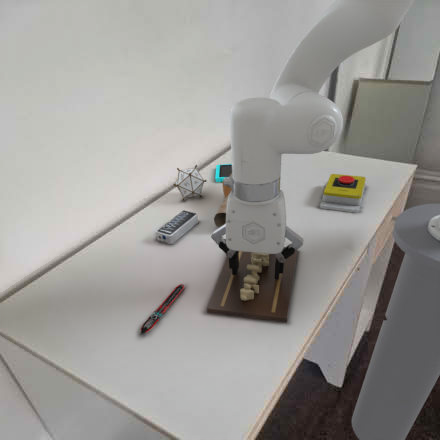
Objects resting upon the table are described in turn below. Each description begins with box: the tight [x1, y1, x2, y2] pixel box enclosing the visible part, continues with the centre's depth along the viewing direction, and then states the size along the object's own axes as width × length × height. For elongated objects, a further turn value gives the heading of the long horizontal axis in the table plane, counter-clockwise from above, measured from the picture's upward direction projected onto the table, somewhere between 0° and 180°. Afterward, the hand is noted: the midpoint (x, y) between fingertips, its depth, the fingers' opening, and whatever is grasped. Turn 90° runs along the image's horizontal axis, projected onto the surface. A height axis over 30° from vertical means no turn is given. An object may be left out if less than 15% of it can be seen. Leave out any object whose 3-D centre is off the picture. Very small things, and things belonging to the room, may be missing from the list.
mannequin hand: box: [213, 173, 232, 229], centre depth 93 cm, size 7×7×25 cm
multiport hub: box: [155, 209, 199, 245], centre depth 86 cm, size 4×11×2 cm, turn 148°
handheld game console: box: [214, 163, 232, 183], centre depth 108 cm, size 10×16×1 cm, turn 89°
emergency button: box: [319, 173, 367, 214], centre depth 93 cm, size 9×4×15 cm
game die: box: [172, 164, 208, 202], centre depth 97 cm, size 9×8×10 cm
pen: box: [140, 283, 185, 335], centre depth 67 cm, size 2×14×1 cm, turn 154°
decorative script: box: [240, 252, 270, 301], centre depth 70 cm, size 17×4×3 cm, turn 166°
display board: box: [206, 246, 299, 323], centre depth 71 cm, size 14×21×1 cm, turn 166°
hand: (256, 272), depth 70 cm, fingers open, 7 cm apart
